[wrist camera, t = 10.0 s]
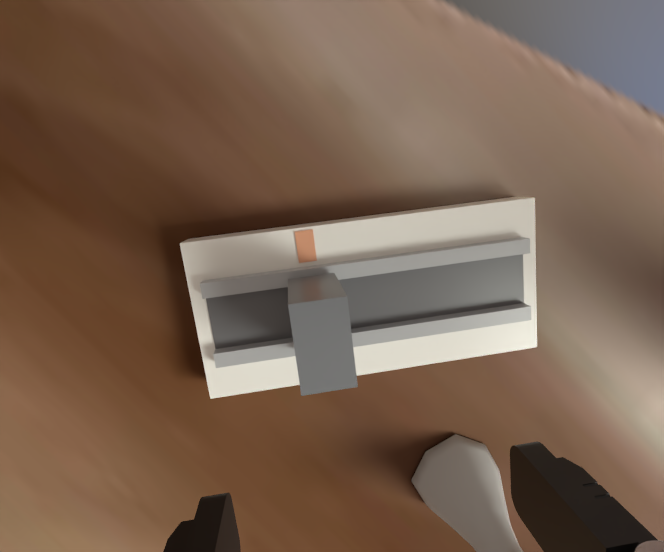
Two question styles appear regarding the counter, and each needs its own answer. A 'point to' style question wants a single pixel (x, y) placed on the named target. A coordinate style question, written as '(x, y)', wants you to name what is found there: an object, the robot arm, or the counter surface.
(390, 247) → the fader console
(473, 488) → the flask
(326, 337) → the fader tab
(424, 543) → the counter surface
